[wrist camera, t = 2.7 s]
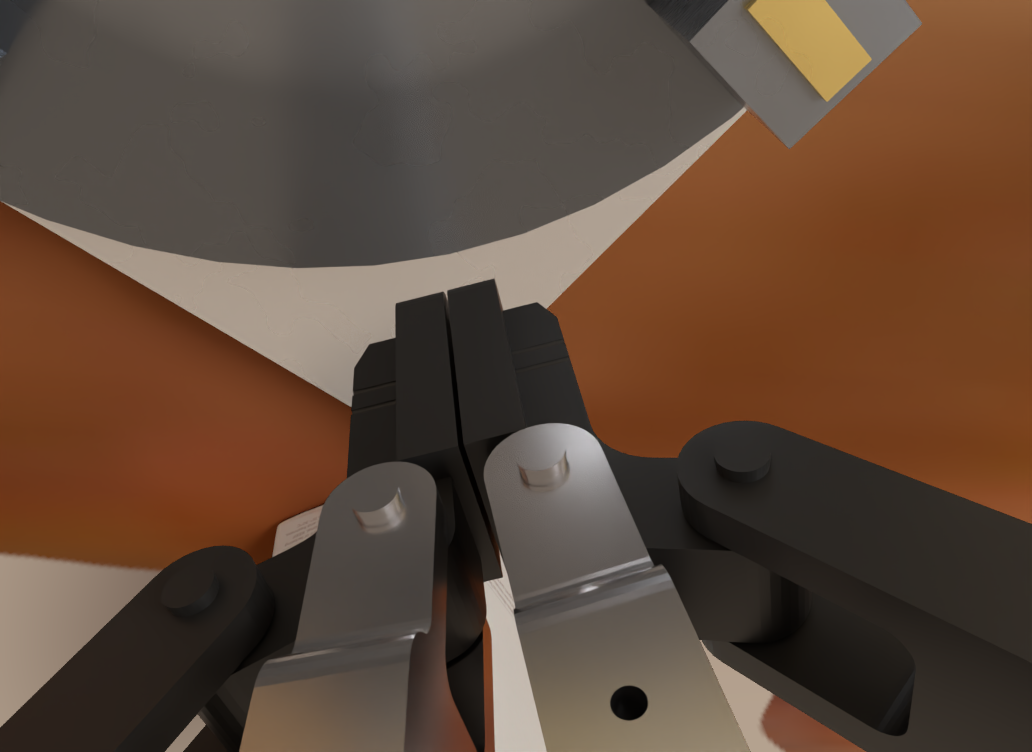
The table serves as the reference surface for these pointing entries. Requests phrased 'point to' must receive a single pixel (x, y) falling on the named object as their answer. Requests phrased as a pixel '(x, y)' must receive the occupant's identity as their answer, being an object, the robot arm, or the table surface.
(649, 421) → the table surface
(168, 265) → the base plate
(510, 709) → the supplement box
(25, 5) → the grey flat round piece
